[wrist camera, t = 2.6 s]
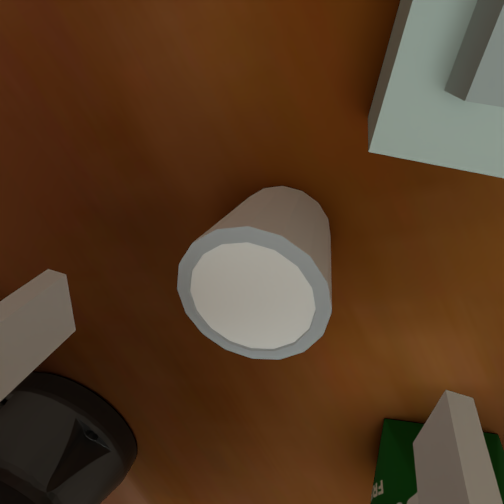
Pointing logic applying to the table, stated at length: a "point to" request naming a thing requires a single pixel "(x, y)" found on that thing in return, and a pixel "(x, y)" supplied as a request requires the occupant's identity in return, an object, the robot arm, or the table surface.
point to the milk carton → (403, 464)
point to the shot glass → (262, 276)
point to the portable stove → (443, 86)
